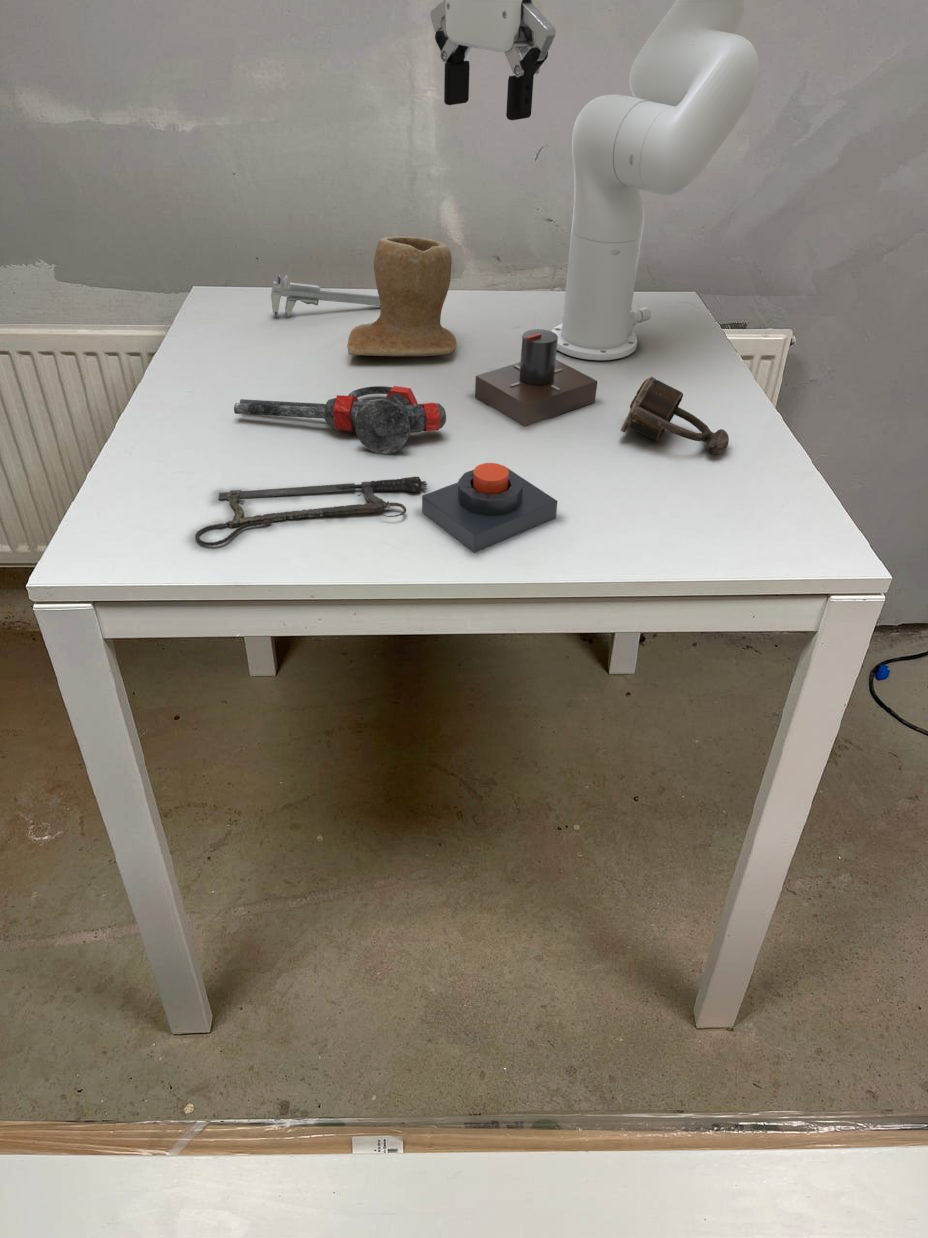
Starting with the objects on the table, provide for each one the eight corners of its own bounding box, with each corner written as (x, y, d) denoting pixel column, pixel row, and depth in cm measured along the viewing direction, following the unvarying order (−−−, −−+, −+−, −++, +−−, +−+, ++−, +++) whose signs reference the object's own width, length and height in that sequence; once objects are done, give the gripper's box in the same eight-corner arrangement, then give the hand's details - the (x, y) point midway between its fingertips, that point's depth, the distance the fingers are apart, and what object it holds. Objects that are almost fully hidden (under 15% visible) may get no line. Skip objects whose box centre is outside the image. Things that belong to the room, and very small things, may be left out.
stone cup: (453, 332, 133) (455, 225, 123) (458, 365, 124) (461, 253, 114) (350, 332, 132) (344, 225, 122) (347, 366, 123) (341, 253, 113)
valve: (460, 418, 116) (437, 459, 103) (268, 406, 119) (223, 444, 107) (460, 368, 112) (437, 405, 100) (263, 358, 116) (216, 391, 103)
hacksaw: (426, 484, 99) (426, 472, 99) (435, 536, 92) (435, 524, 91) (203, 494, 97) (201, 482, 96) (193, 549, 89) (191, 536, 88)
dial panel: (544, 374, 122) (546, 352, 120) (595, 402, 116) (598, 379, 114) (474, 397, 116) (475, 374, 114) (524, 427, 110) (526, 403, 108)
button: (493, 473, 95) (493, 459, 93) (514, 488, 92) (516, 473, 91) (466, 484, 93) (466, 469, 92) (487, 499, 91) (488, 484, 90)
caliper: (274, 319, 135) (269, 276, 131) (273, 316, 136) (268, 274, 132) (405, 306, 140) (404, 265, 136) (403, 303, 141) (402, 263, 137)
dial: (538, 367, 117) (541, 323, 113) (561, 379, 114) (565, 335, 110) (512, 375, 115) (515, 331, 111) (534, 388, 112) (538, 343, 108)
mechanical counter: (660, 368, 112) (612, 373, 105) (751, 393, 104) (706, 400, 98) (648, 425, 115) (601, 433, 108) (735, 453, 107) (691, 464, 101)
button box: (502, 482, 100) (504, 450, 98) (556, 518, 95) (559, 485, 92) (421, 513, 95) (421, 480, 92) (474, 553, 90) (475, 519, 87)
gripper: (587, -85, 84) (568, 120, 95) (461, -93, 94) (458, 94, 105) (532, -85, 80) (519, 129, 91) (407, -94, 90) (409, 101, 101)
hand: (486, 110), depth 98 cm, fingers open, 9 cm apart
